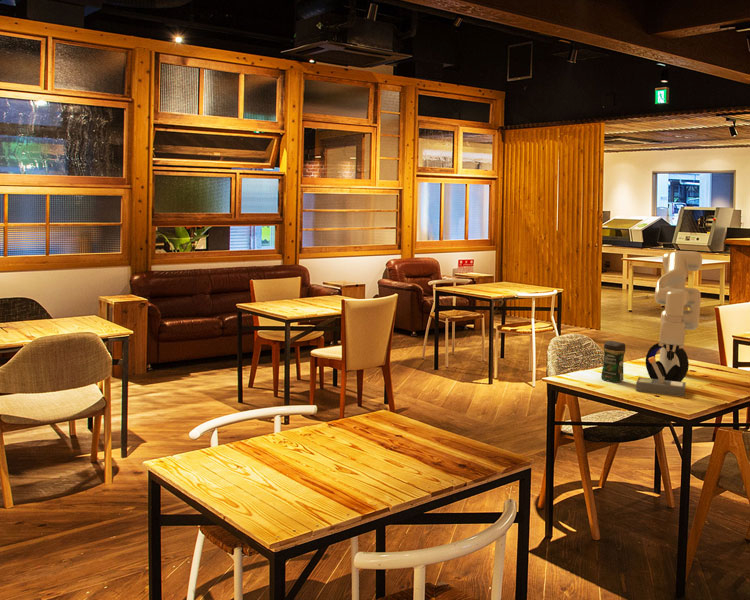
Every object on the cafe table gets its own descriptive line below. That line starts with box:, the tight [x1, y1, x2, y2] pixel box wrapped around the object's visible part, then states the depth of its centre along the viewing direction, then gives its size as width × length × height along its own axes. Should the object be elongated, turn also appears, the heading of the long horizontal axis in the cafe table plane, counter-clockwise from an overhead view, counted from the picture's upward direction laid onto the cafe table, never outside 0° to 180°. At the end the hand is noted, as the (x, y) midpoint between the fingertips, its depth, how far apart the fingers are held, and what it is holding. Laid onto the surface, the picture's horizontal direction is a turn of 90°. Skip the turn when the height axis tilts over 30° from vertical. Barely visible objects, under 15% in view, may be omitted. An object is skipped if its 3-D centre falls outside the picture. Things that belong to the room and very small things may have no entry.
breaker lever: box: [648, 356, 663, 378], centre depth 344 cm, size 3×2×12 cm
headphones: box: [645, 342, 690, 382], centre depth 356 cm, size 19×7×20 cm, turn 38°
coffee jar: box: [600, 340, 627, 383], centre depth 361 cm, size 10×8×19 cm
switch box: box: [635, 376, 687, 398], centre depth 344 cm, size 11×20×6 cm, turn 66°
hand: (670, 359), depth 342 cm, fingers closed
